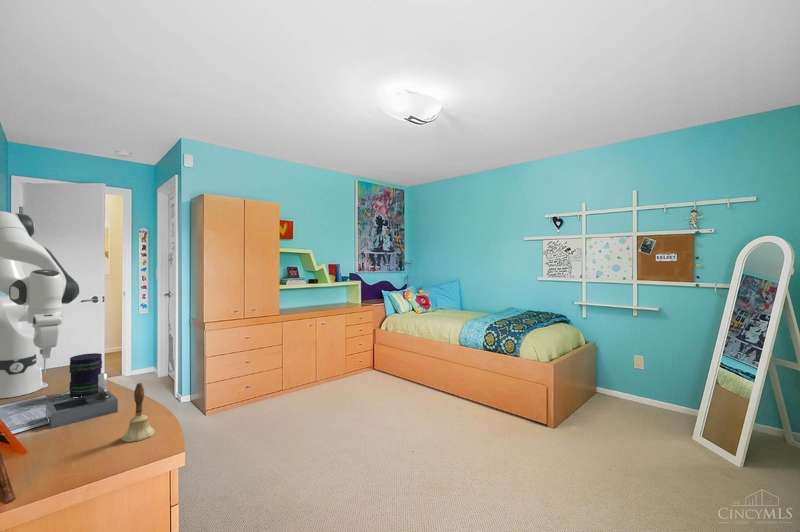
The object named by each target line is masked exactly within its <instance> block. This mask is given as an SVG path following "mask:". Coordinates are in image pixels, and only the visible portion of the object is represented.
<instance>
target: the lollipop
mask: <svg viewBox="0 0 800 532" xmlns="http://www.w3.org/2000/svg"><path fill="white" fill-rule="evenodd" d="M33 342H34V344H35V347H37V348H39V349H40V348H42V347H41V346H40V345H39V335H38V334H37V335H36V336H35V337H34V339H33ZM46 361H47V358H46V359H44V358H43V375H46V374H47V373H46V371H47V367H46V366H47V365H46V363H47V362H46Z"/></svg>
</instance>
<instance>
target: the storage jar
mask: <svg viewBox="0 0 800 532" xmlns="http://www.w3.org/2000/svg"><path fill="white" fill-rule="evenodd" d="M102 355H103V354H102V353H95V352H94V353H84V354H82V353H81V354H76V355H74V356H71V357H69V373H70V382H69V398H70V397H81V396H87V395H92V394H97V393H98V374H101V373H102V369H103V365H102V364H103V360H102V359H103V358H102V357H103V356H102Z"/></svg>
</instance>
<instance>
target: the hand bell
mask: <svg viewBox="0 0 800 532" xmlns="http://www.w3.org/2000/svg"><path fill="white" fill-rule="evenodd" d="M133 391H134V392H133V399H134V402H135V414H134V416H132V418H131V419H130V420H129V425H128V429H127V431H126V432H125V433H124V435H122V438H121V441H123V442H126V443H132V442H133V443H134V442H140V441H143V440H146V439H149V438H150V437H153V436H154V435H155V434H156V430H155V428H153V427H151V425H150V422H149V417H148V415H144V414H143V401H144V399H145V388H144V385H143V383H142V382H137V383H136V386H135V389H134V390H133Z"/></svg>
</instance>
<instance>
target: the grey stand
mask: <svg viewBox="0 0 800 532" xmlns="http://www.w3.org/2000/svg"><path fill="white" fill-rule="evenodd" d="M118 402H119V400H118V398H117V397H116V396H115V395H114V394H113V393H112V392H111V391H109V390H108V373H107V372H101V374H98V393H97V394H92V395H87V396H82V397H78V398H68V399H65V400H58V401H55V402H50V403H46V404H45V417H46V416H47V417H48V419H49V423H48V424H49V426H50V428H51V429H54V428H58V427H62V426H65V425H69V424H74V423H77V422H82V421H86V420H90V419H94V418H99V417H102V416H105V415H106V416H107V415H109V414H113V413H118V412H119V411H118V407H119V406H118V405H119V403H118Z"/></svg>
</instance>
